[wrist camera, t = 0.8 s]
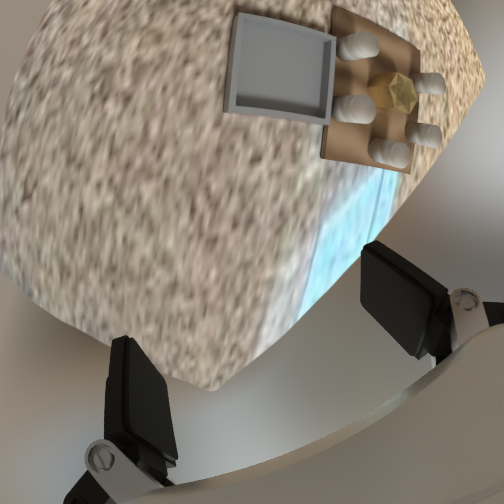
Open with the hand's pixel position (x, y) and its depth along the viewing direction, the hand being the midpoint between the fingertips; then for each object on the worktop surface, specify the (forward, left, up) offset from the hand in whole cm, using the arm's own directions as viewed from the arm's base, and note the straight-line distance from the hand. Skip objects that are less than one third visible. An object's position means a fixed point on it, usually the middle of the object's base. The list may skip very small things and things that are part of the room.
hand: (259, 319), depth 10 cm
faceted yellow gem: (-17, +29, -27) cm, 43 cm away
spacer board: (-17, +29, -28) cm, 44 cm away
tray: (-16, +11, -28) cm, 34 cm away
